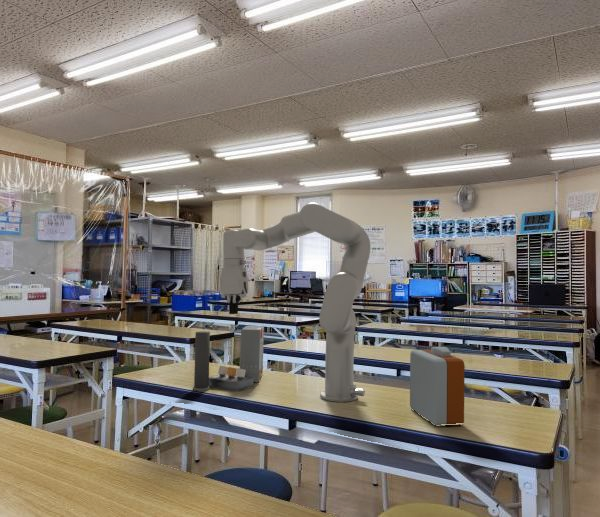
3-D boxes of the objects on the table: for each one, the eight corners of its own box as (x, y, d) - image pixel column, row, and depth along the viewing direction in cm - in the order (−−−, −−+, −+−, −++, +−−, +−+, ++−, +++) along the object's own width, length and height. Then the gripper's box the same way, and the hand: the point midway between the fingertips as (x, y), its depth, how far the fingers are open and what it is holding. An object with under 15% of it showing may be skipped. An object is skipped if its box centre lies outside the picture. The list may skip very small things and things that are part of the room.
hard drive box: (259, 383, 175) (260, 329, 176) (238, 382, 176) (240, 329, 176) (263, 374, 191) (264, 325, 192) (244, 373, 191) (245, 325, 192)
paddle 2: (235, 378, 171) (237, 368, 172) (230, 377, 168) (232, 367, 169) (231, 377, 171) (233, 368, 173) (226, 376, 169) (228, 366, 170)
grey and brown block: (465, 427, 128) (465, 352, 129) (435, 428, 127) (436, 352, 128) (435, 407, 147) (435, 342, 147) (408, 408, 145) (409, 342, 146)
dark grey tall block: (212, 388, 166) (213, 332, 166) (202, 391, 161) (203, 333, 161) (200, 386, 168) (201, 330, 169) (189, 389, 163) (191, 332, 164)
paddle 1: (243, 379, 169) (245, 370, 170) (239, 378, 166) (241, 368, 167) (239, 379, 170) (241, 369, 171) (235, 378, 167) (237, 368, 168)
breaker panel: (253, 386, 170) (253, 377, 170) (238, 391, 162) (239, 382, 162) (222, 381, 177) (222, 372, 177) (207, 386, 169) (207, 377, 169)
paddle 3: (226, 377, 173) (228, 367, 174) (221, 375, 170) (223, 366, 171) (222, 376, 173) (224, 367, 174) (217, 375, 171) (219, 365, 172)
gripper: (256, 263, 171) (256, 313, 170) (223, 264, 178) (223, 312, 177) (244, 263, 164) (244, 315, 164) (210, 264, 171) (210, 314, 171)
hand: (233, 313), depth 170 cm, fingers closed
